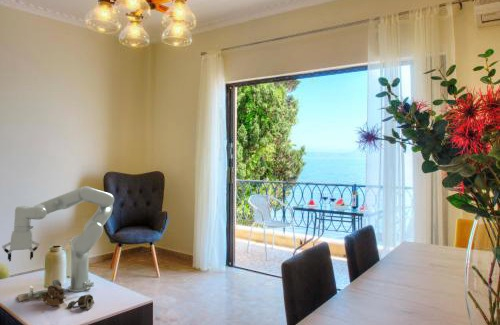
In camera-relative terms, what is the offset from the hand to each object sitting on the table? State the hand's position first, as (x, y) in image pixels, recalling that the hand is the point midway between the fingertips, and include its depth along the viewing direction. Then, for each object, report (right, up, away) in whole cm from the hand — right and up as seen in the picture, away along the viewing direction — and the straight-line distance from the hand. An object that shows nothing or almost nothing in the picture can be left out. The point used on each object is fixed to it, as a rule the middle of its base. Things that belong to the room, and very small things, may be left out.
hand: (20, 260), depth 195 cm
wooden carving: (+23, -21, -9) cm, 33 cm away
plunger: (+6, -19, 0) cm, 20 cm away
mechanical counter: (+39, -22, -12) cm, 46 cm away
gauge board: (+8, -21, +4) cm, 23 cm away
